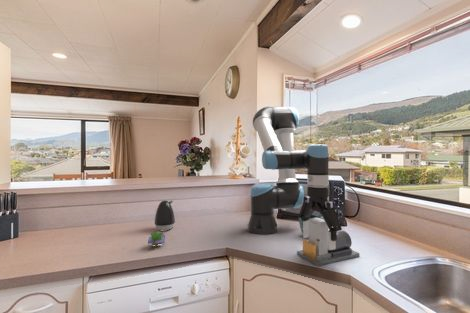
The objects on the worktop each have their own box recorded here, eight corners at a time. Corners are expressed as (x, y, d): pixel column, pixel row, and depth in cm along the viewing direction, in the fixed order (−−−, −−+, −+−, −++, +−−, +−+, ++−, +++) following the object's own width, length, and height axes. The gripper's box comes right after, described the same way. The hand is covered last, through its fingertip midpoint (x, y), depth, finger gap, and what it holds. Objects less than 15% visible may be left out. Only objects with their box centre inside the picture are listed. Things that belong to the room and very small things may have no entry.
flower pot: (307, 231, 122) (307, 213, 122) (324, 235, 116) (324, 216, 116) (298, 235, 116) (298, 216, 116) (315, 240, 110) (315, 220, 110)
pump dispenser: (179, 228, 129) (179, 199, 129) (164, 234, 121) (163, 203, 121) (166, 225, 135) (165, 198, 135) (150, 230, 126) (150, 201, 126)
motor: (297, 254, 95) (297, 232, 94) (337, 246, 102) (337, 226, 102) (316, 265, 84) (316, 242, 84) (359, 256, 92) (359, 234, 92)
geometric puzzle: (163, 246, 99) (164, 226, 103) (145, 247, 97) (147, 227, 102) (165, 251, 104) (166, 232, 109) (148, 252, 103) (150, 233, 108)
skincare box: (307, 250, 93) (307, 218, 93) (317, 248, 95) (316, 217, 95) (319, 256, 88) (319, 222, 88) (329, 254, 89) (328, 220, 89)
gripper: (289, 183, 101) (290, 234, 102) (335, 191, 78) (335, 257, 79) (304, 182, 104) (305, 232, 104) (352, 189, 81) (353, 253, 81)
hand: (318, 243), depth 91 cm, fingers open, 13 cm apart
